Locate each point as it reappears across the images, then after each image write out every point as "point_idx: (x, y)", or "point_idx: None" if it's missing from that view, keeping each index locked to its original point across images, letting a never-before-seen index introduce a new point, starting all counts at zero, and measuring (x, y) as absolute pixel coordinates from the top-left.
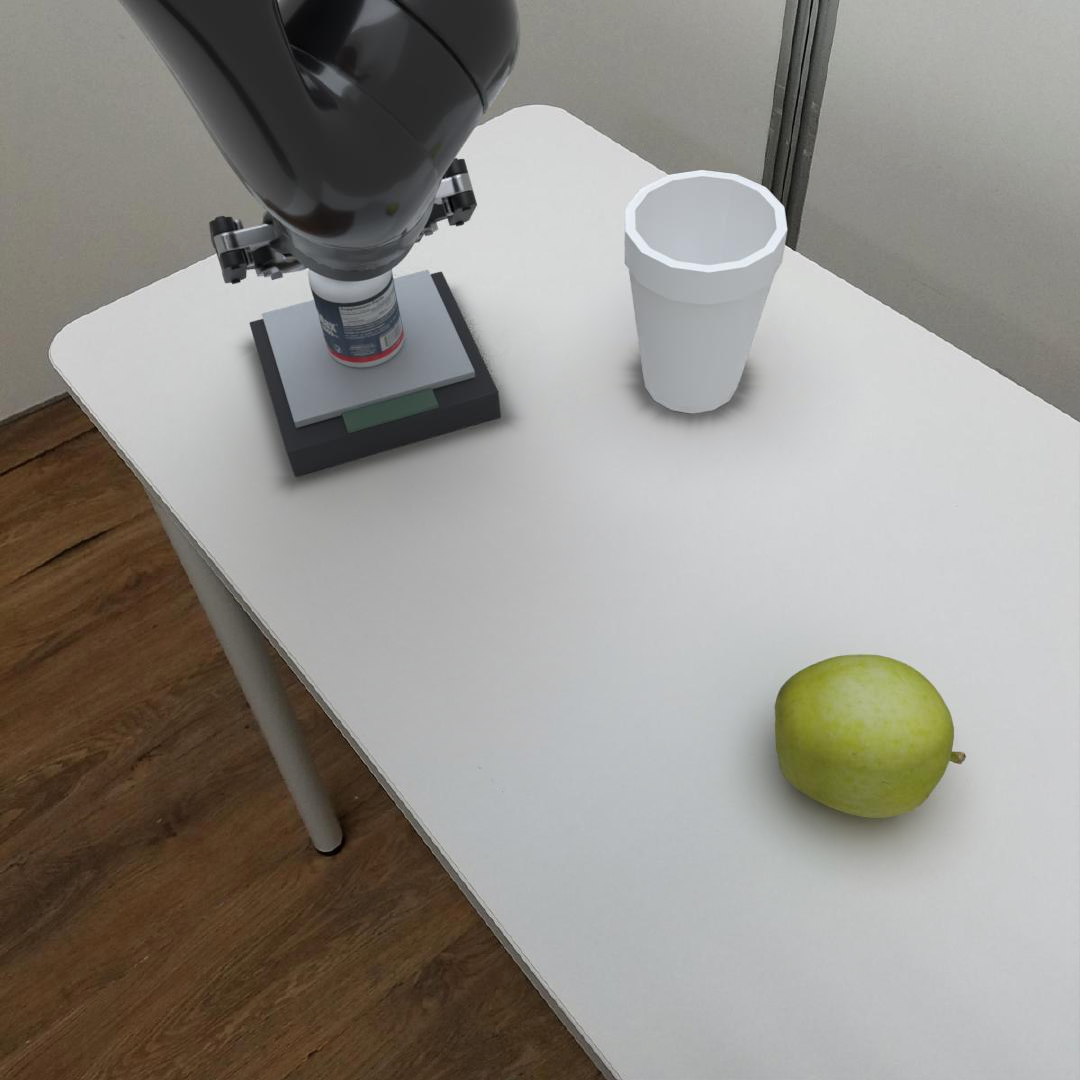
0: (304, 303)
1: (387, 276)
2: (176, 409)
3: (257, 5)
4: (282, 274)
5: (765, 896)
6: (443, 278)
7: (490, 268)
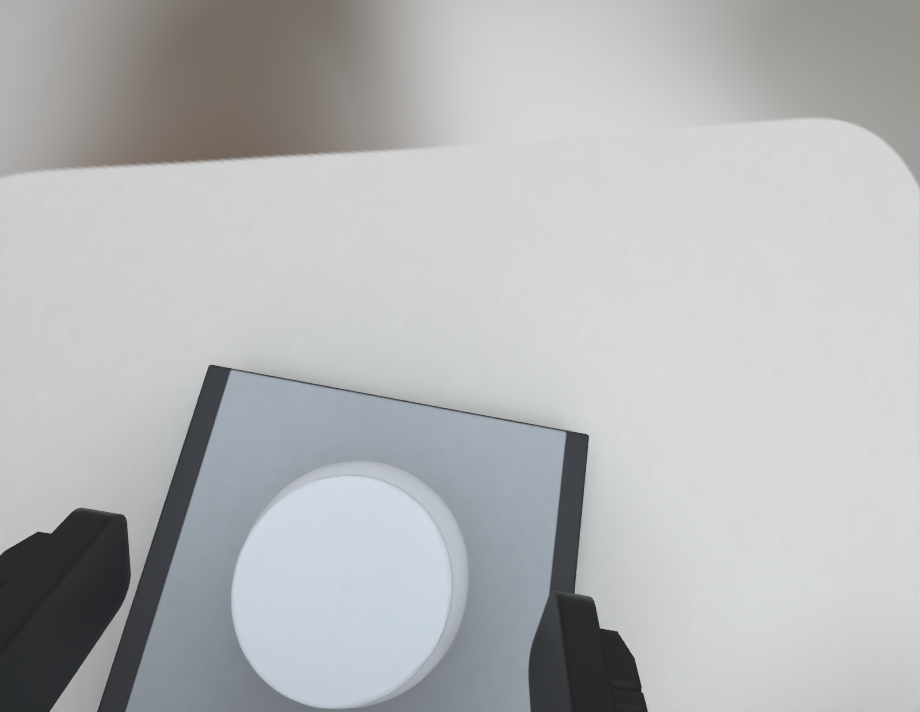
0: (315, 388)
1: (432, 669)
2: (24, 450)
3: None
4: (74, 674)
5: None
6: (584, 456)
7: (669, 421)
